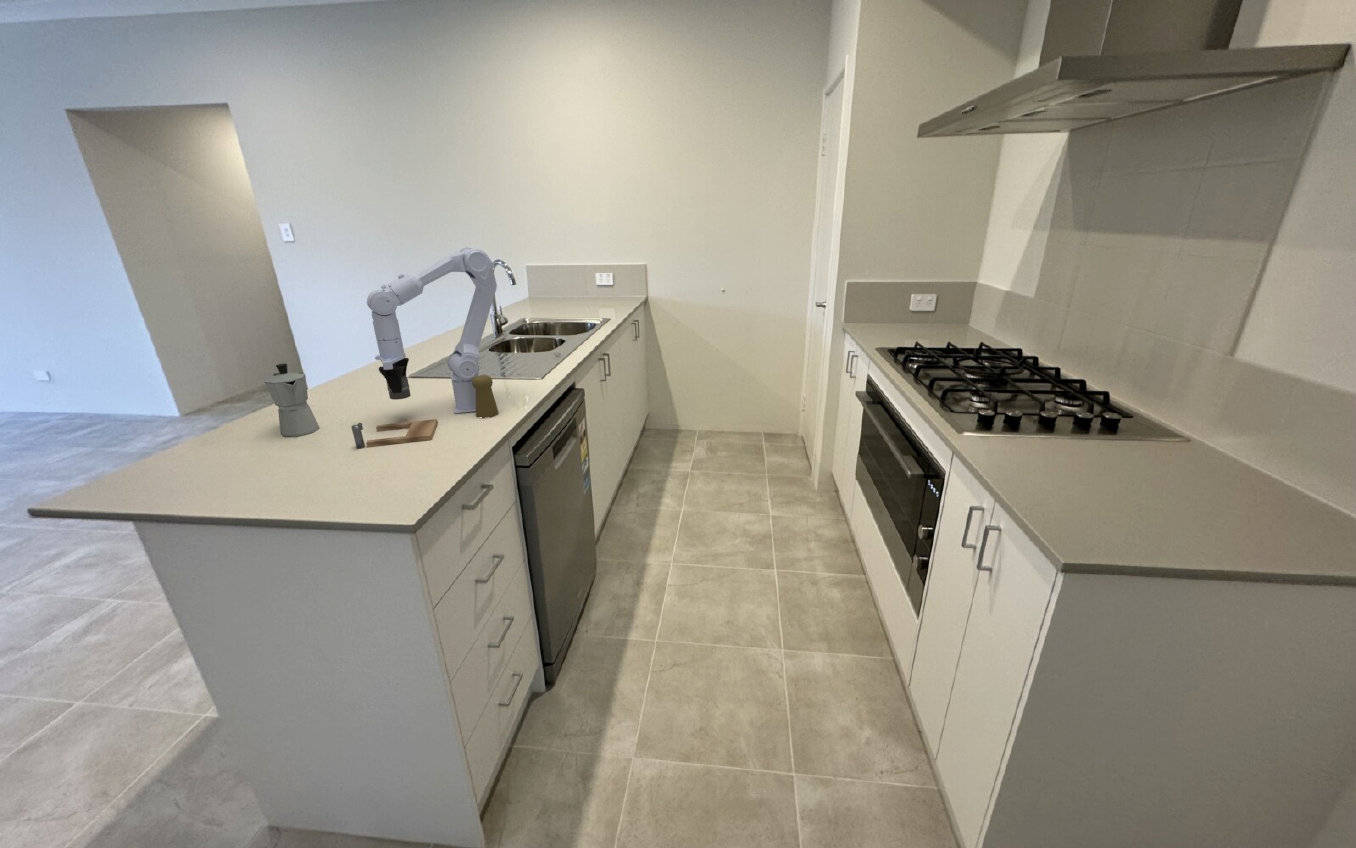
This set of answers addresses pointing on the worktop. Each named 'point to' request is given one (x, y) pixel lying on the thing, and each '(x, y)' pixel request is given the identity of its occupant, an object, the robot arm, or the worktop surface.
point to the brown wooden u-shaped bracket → (415, 433)
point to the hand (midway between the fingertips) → (399, 389)
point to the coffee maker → (291, 402)
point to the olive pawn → (484, 397)
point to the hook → (358, 435)
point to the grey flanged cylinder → (405, 390)
